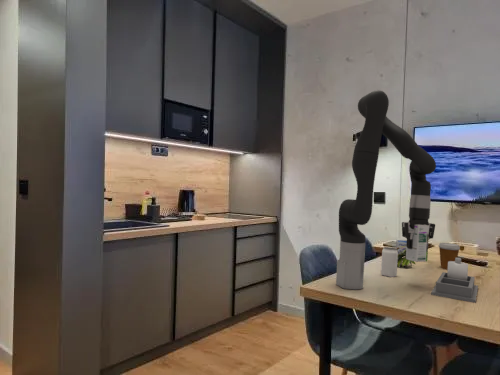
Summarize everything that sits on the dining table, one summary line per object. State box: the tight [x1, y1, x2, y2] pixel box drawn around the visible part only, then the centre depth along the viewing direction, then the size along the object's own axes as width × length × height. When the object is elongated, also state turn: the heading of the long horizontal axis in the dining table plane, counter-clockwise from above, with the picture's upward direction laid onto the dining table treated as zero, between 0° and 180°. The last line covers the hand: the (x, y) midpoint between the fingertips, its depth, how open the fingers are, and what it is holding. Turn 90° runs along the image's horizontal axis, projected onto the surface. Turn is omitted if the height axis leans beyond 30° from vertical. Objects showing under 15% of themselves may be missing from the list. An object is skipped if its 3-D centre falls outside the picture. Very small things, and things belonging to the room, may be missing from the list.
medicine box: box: [395, 239, 407, 251], centre depth 219 cm, size 8×4×9 cm, turn 81°
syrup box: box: [406, 224, 429, 263], centre depth 150 cm, size 6×6×14 cm
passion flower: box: [395, 247, 416, 269], centre depth 187 cm, size 11×11×12 cm
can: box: [380, 246, 398, 278], centre depth 166 cm, size 6×6×12 cm
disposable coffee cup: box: [438, 242, 461, 270], centre depth 187 cm, size 10×10×12 cm
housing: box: [430, 257, 479, 304], centre depth 145 cm, size 24×14×12 cm, turn 147°
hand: (416, 248), depth 150 cm, fingers closed on syrup box, 6 cm apart
